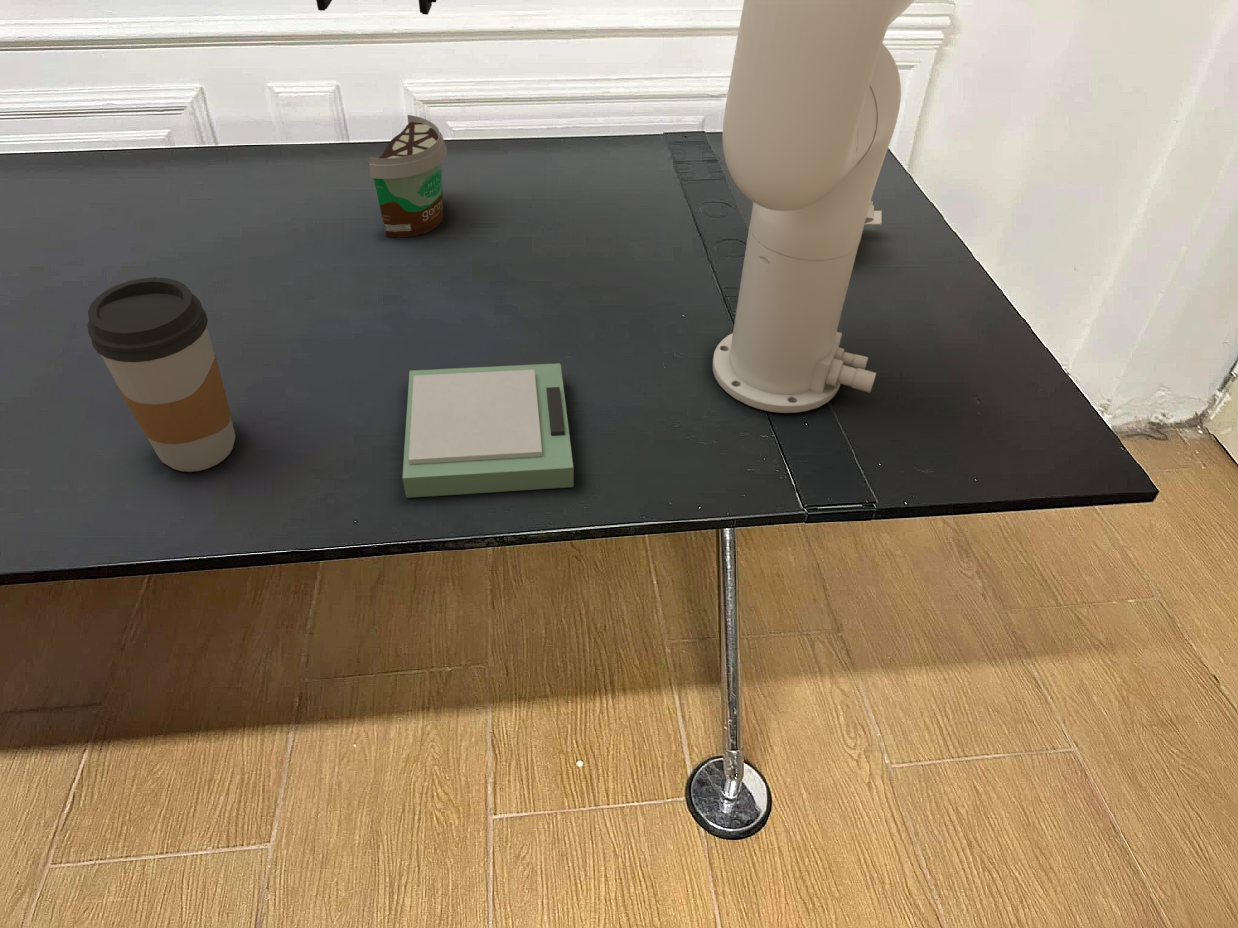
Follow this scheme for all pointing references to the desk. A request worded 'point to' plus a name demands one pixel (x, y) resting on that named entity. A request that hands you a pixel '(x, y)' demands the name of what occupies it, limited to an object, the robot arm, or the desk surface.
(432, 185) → the food container
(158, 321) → the coffee cup
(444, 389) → the kitchen scale
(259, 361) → the desk surface
